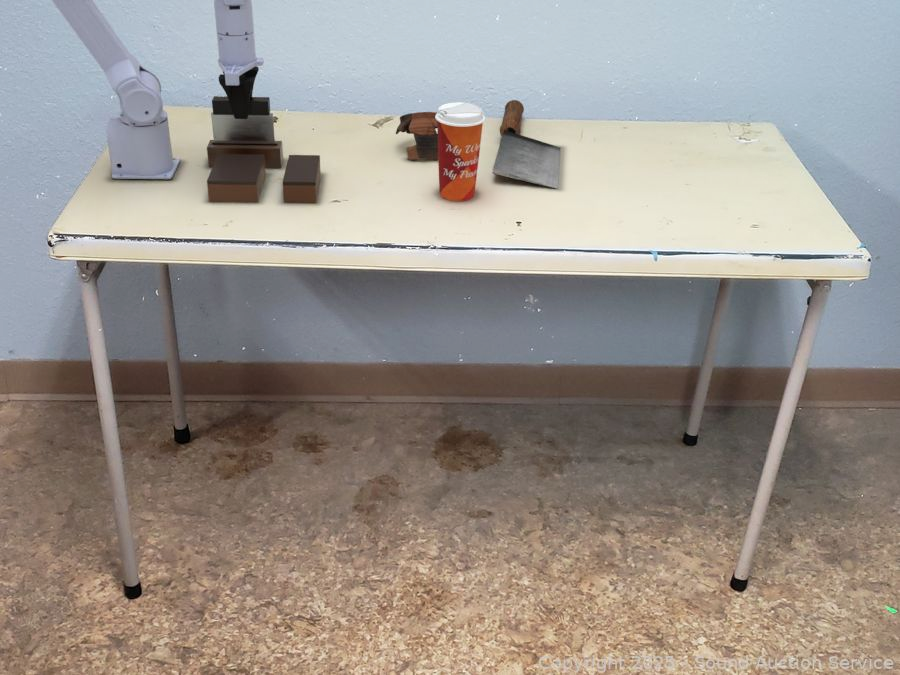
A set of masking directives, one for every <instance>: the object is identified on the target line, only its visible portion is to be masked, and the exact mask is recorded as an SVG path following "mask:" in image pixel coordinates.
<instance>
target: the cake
mask: <svg viewBox="0 0 900 675" xmlns="http://www.w3.org/2000/svg"><path fill="white" fill-rule="evenodd" d="M266 169H267V168H265V156H264V155H259V154H218V155H217V158H216V160H215V162H214V165H213V167H211V170H210V172H209V175H208V177H207V180H206V185H207V196H208V202H212V203H213V202H214V203H258V202H259V200H260V196H261V194H262V189H263V186H264V182H265V179H266V176H267V170H266Z"/></svg>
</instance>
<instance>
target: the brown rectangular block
mask: <svg viewBox="0 0 900 675" xmlns="http://www.w3.org/2000/svg"><path fill="white" fill-rule="evenodd" d="M321 172H322V171H321V155H320V154H288V158H287V163H286V166H285V170H284V175H283V178H282V195H283V196H282V197H283V203H294V204H295V203H301V204H302V203H305V204H306V203H308V204H309V203H311V204H315V203H317V200H318V194H319V188H320V181H321V176H322V174H321Z"/></svg>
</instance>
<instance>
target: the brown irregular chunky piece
mask: <svg viewBox="0 0 900 675" xmlns="http://www.w3.org/2000/svg"><path fill="white" fill-rule="evenodd" d="M437 113H438V111H437V112H436V111H419V112H411V113H410V112H409V113H406V114H402V115H401V116H400V117H399V122H400V123H399V125H398V126H397V128H396V130H395V135H398V134H399V133H400V132H401V133H407V134H408V135H410V134H412V135H413V137H414V142H415V144H414V145H411V146H407V147H406V148H405V151H406V155H407V160H409V161H410V160H411V161H412V160H413V161H414V160H423V159H424V160H438V131H437V130H436V129H438V126H437V120H436V118H435V116H436V114H437Z"/></svg>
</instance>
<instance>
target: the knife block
mask: <svg viewBox="0 0 900 675" xmlns="http://www.w3.org/2000/svg"><path fill="white" fill-rule="evenodd" d="M206 153H207V163H208V164H207V165H208V168H212V167H213V165H214V162H215V160H216V158H217V155H218V154H259V155H264V156H265V169H282V167H283V162H284V149H283V140H275V144H238V143H214V139H209V141H208V144H207V146H206Z"/></svg>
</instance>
